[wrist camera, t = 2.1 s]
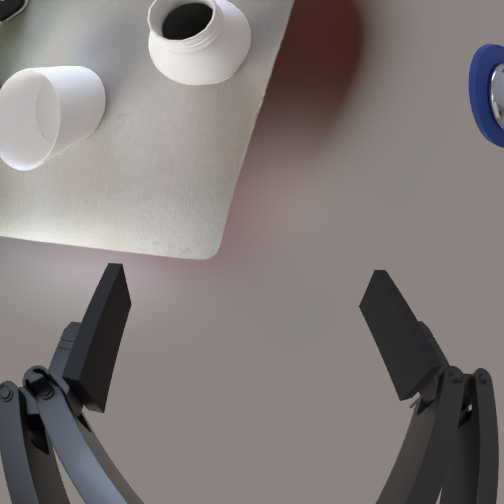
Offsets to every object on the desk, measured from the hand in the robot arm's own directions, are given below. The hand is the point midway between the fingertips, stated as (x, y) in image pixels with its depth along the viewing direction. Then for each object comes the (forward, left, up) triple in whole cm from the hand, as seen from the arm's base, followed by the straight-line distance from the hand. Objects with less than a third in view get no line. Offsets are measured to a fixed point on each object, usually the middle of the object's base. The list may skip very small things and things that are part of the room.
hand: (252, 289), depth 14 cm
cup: (+24, -8, -27) cm, 37 cm away
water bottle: (+4, -13, -27) cm, 30 cm away
